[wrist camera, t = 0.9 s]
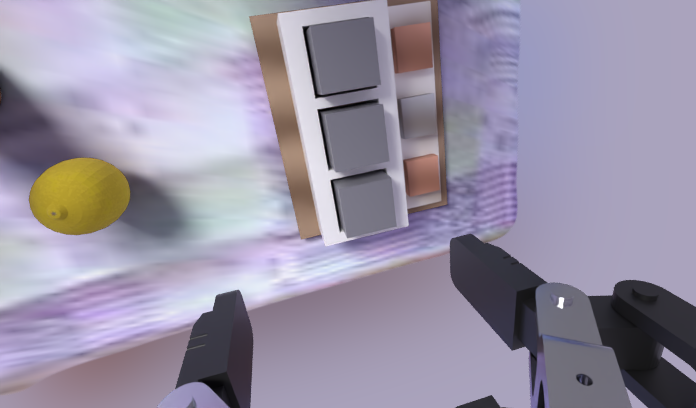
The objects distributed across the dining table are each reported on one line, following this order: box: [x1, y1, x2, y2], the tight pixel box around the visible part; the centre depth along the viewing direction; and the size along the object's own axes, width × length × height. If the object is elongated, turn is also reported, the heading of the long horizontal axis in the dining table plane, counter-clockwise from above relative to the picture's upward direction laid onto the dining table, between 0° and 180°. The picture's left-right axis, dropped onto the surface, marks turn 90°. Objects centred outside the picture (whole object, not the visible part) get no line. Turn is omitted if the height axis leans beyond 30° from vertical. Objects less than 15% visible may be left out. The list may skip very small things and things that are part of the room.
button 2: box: [318, 102, 389, 172], centre depth 27 cm, size 4×4×4 cm
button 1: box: [304, 17, 381, 95], centre depth 25 cm, size 4×4×4 cm
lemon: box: [29, 158, 130, 235], centre depth 25 cm, size 6×6×8 cm
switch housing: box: [277, 0, 409, 246], centre depth 29 cm, size 19×8×4 cm, turn 9°
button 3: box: [331, 169, 397, 238], centre depth 29 cm, size 4×4×4 cm
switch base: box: [249, 0, 447, 239], centre depth 31 cm, size 20×16×2 cm
